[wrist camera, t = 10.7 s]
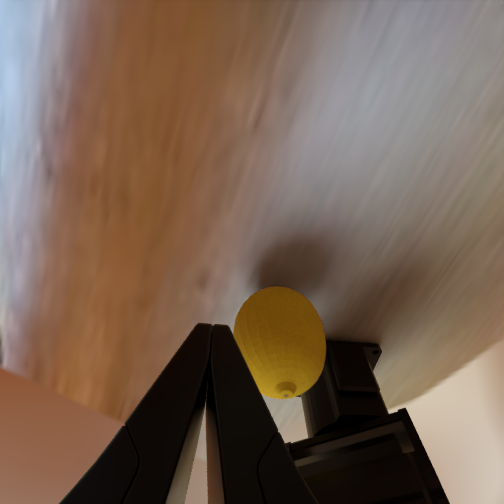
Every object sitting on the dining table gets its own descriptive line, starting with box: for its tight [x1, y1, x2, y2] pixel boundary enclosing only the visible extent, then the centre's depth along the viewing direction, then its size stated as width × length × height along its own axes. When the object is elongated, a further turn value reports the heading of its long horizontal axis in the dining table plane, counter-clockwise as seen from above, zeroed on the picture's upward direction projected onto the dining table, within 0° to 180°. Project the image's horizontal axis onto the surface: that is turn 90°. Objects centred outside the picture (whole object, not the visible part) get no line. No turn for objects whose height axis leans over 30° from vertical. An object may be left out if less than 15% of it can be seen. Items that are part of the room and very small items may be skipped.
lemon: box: [233, 286, 326, 399], centre depth 21 cm, size 6×6×8 cm
